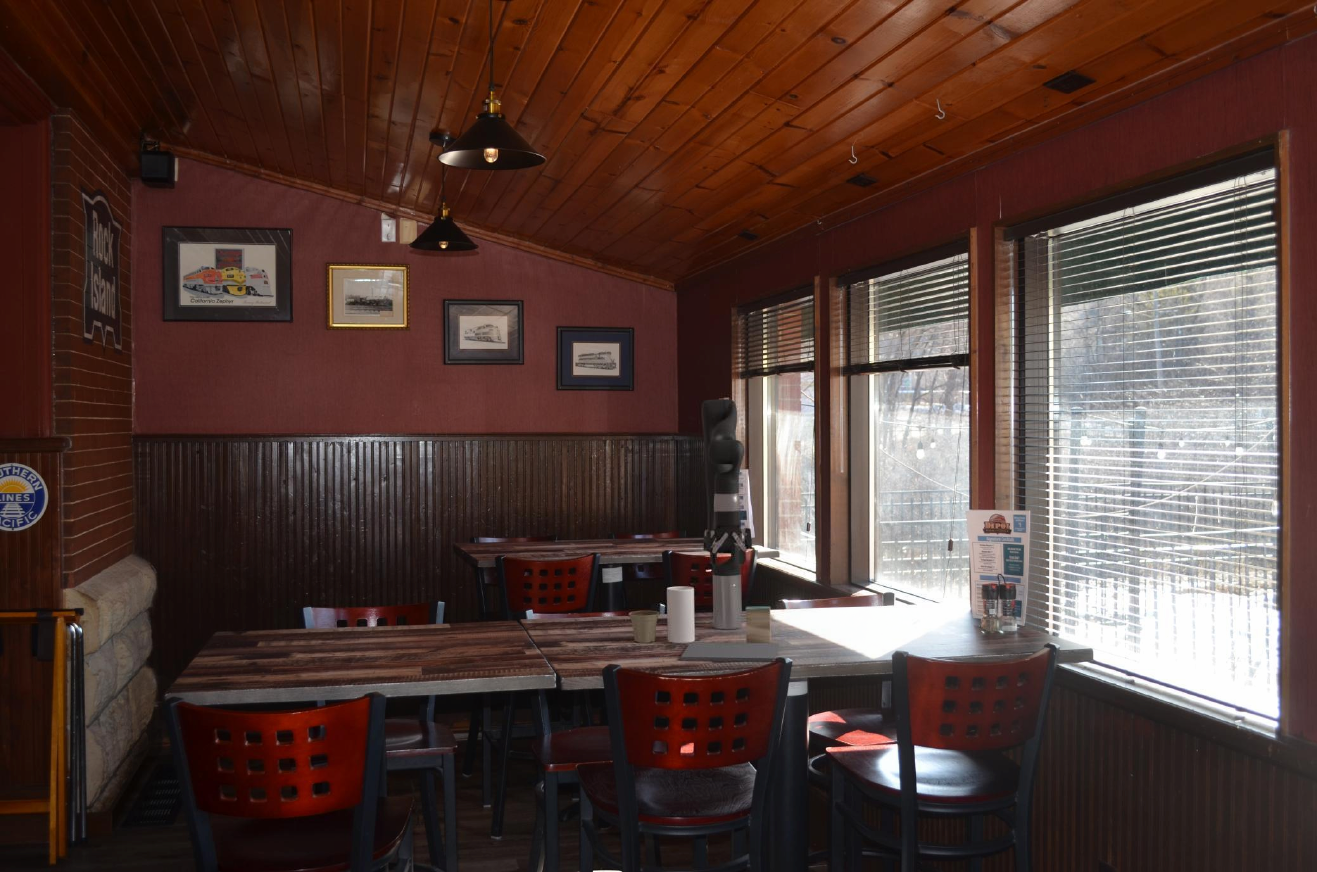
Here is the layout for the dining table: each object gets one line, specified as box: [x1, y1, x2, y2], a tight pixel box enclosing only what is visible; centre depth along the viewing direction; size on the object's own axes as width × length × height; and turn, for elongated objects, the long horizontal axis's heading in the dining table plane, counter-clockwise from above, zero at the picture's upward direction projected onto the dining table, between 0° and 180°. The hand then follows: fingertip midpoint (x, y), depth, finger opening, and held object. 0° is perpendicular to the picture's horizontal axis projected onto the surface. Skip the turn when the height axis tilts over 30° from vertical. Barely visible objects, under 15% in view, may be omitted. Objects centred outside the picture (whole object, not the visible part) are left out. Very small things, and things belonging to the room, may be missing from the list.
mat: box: [680, 641, 780, 663], centre depth 306 cm, size 22×26×1 cm
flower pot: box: [628, 610, 660, 644], centre depth 328 cm, size 9×9×9 cm
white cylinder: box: [666, 585, 696, 644], centre depth 328 cm, size 8×8×16 cm
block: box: [745, 606, 772, 643], centre depth 319 cm, size 4×7×11 cm, turn 81°
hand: (728, 565), depth 310 cm, fingers open, 8 cm apart
